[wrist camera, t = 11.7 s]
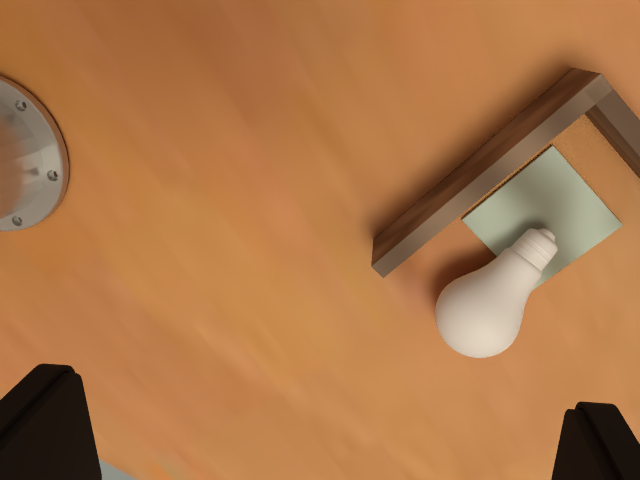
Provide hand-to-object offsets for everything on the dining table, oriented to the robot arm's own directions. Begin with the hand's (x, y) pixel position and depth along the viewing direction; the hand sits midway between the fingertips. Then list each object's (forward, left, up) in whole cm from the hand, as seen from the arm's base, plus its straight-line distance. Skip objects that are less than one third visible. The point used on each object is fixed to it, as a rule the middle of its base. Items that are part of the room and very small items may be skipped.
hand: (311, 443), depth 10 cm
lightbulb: (+5, -13, -29) cm, 32 cm away
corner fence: (+4, -14, -30) cm, 34 cm away
